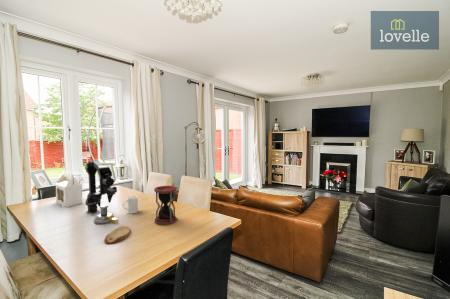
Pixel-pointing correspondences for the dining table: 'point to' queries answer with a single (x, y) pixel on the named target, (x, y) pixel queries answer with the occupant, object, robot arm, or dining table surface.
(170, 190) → the hourglass
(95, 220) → the rosette
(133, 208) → the mug
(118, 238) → the slice of bread
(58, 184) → the gable box
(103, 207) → the wedge pin
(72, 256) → the dining table surface
